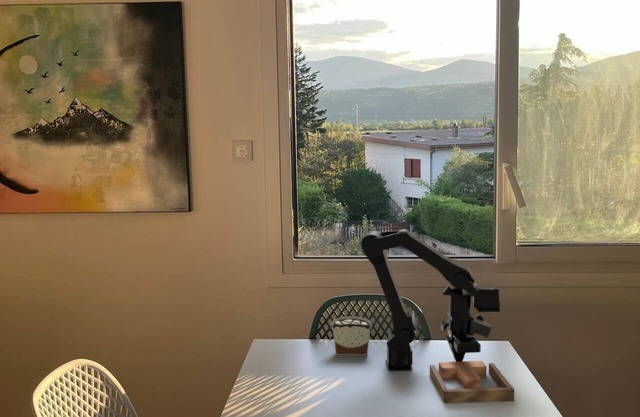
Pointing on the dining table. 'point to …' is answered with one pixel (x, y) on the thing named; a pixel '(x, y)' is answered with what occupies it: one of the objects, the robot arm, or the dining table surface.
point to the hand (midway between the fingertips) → (459, 364)
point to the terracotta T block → (464, 372)
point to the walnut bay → (475, 395)
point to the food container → (351, 335)
